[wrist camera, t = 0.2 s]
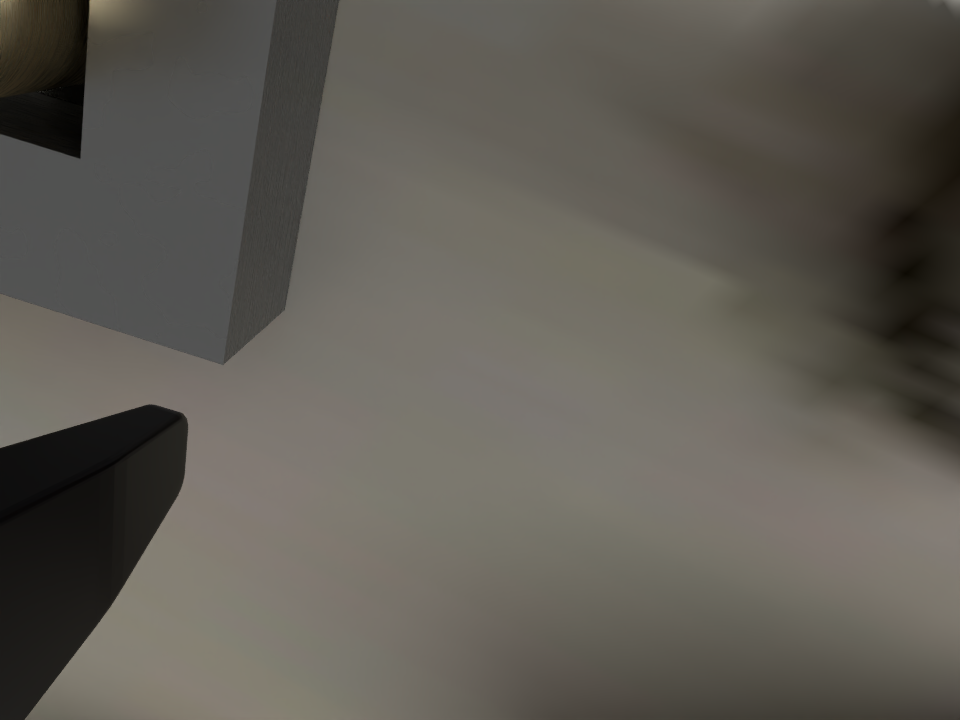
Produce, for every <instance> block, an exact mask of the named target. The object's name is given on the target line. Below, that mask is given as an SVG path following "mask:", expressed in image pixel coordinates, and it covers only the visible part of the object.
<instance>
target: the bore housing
mask: <svg viewBox="0 0 960 720" xmlns="http://www.w3.org/2000/svg"><path fill="white" fill-rule="evenodd" d="M338 2H339V0H90V8H89V25H88V41H87V58H86V75H85V91H84V107H83V106H80V105H77V104H74V103H70V102H67V101H64V100H61V99H57V98H54V97H51V96H48V95H44V94H41V93H38V92H31V93H26V94H20V95H14V96H8V97H2V98H0V294H3V295H7V296H10V297H13V298H16V299H19V300H22V301H25V302H28V303H31V304H35V305H38V306H41V307H44V308H47V309H50V310H53V311H56V312H60V313H63V314H66V315H69V316H72V317H75V318H78V319H81V320H85V321H88V322H91V323H94V324H97V325H100V326H103V327H106V328H109V329H113V330H116V331H119V332H122V333H125V334H128V335H131V336H134V337H138V338H141V339H144V340H147V341H150V342H153V343H156V344H159V345H163V346H166V347H169V348H172V349H175V350H178V351H181V352H184V353H187V354H191V355H194V356H197V357H200V358H203V359H206V360H209V361H212V362H216V363H219V364H222V365H224V364H225V363H226V362H227V361H228V360H229V359H230V358H231V357H232V356H234V355H235V354H236V353H237V352H238V351H239V350H240V349H241V348H242V347H244V346H245V345H246V344H247V343H248V342H249V341H250V340H251V339H253V338H254V337H255V336H256V335H257V334H258V333H259V332H260V331H261V330H263V329H264V328H265V327H266V326H267V325H268V324H269V323H270V322H272V321H273V320H274V319H275V318H276V317H277V316H278V315H279V314H280V313H282V312H283V311H284V310H285V304H286V298H287V293H288V287H289V281H290V276H291V270H292V264H293V259H294V253H295V247H296V241H297V236H298V230H299V224H300V219H301V213H302V207H303V202H304V196H305V190H306V184H307V179H308V173H309V167H310V162H311V156H312V150H313V145H314V139H315V133H316V127H317V122H318V116H319V110H320V105H321V99H322V93H323V88H324V82H325V76H326V70H327V65H328V59H329V53H330V48H331V42H332V36H333V31H334V25H335V19H336V13H337V8H338Z"/></svg>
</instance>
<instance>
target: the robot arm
mask: <svg viewBox="0 0 960 720" xmlns="http://www.w3.org/2000/svg"><path fill="white" fill-rule="evenodd" d="M187 436H188V422H187V418H186V417H185V416H184V414H182V413H180V412H177V411H174V410H170V409H167V408H164V407H160V406H157V405H145V406H142V407H138V408H135V409H131V410H128V411H125V412H121V413H118V414H114V415H111V416H108V417H104V418H101V419H97V420H94V421H91V422H87V423H84V424H80V425H77V426H74V427H70V428H67V429H64V430H60V431H57V432H53V433H50V434H47V435H43V436H40V437H36V438H33V439H30V440H26V441H23V442H19V443H16V444H13V445H9V446H6V447H2V448H0V720H25V718H26V717H27V716H28V714H29V713H30V712H31V710H32V709H33V708H34V707H35V705H36V704H37V703H38V701H39V700H40V699H41V697H42V696H43V695H44V693H45V692H46V691H47V690H48V688H49V687H50V686H51V684H52V683H53V682H54V680H55V679H56V678H57V677H58V675H59V674H60V673H61V671H62V670H63V669H64V667H65V666H66V665H67V664H68V662H69V661H70V660H71V658H72V657H73V656H74V654H75V653H76V652H77V651H78V649H79V648H80V647H81V645H82V644H83V643H84V641H85V640H86V639H87V637H88V636H89V635H90V634H91V632H92V631H93V630H94V628H95V627H96V626H97V624H98V623H99V622H100V620H101V619H102V618H103V616H104V615H105V613H106V612H107V611H108V609H109V608H110V607H111V605H112V603H113V602H114V600H115V599H116V597H117V596H118V594H119V592H120V591H121V589H122V588H123V586H124V584H125V583H126V581H127V579H128V578H129V576H130V574H131V573H132V571H133V569H134V568H135V566H136V564H137V563H138V561H139V559H140V558H141V556H142V554H143V553H144V551H145V549H146V548H147V546H148V544H149V543H150V541H151V539H152V538H153V536H154V534H155V533H156V531H157V529H158V528H159V526H160V524H161V523H162V521H163V519H164V518H165V516H166V514H167V513H168V511H169V509H170V508H171V506H172V504H173V503H174V501H175V500H176V498H177V496H178V494H179V492H180V490H181V487H182V484H183V480H184V475H185V463H186V450H187Z"/></svg>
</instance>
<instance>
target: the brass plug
mask: <svg viewBox="0 0 960 720" xmlns="http://www.w3.org/2000/svg"><path fill="white" fill-rule="evenodd" d="M89 8H90V0H0V98H2V97H8V96H14V95H20V94H26V93H31V92H37V91H43V90H49V89H55V88H61V87H67V86H72V85H78V84H84V83H85V75H86V58H87V41H88V25H89Z"/></svg>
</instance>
